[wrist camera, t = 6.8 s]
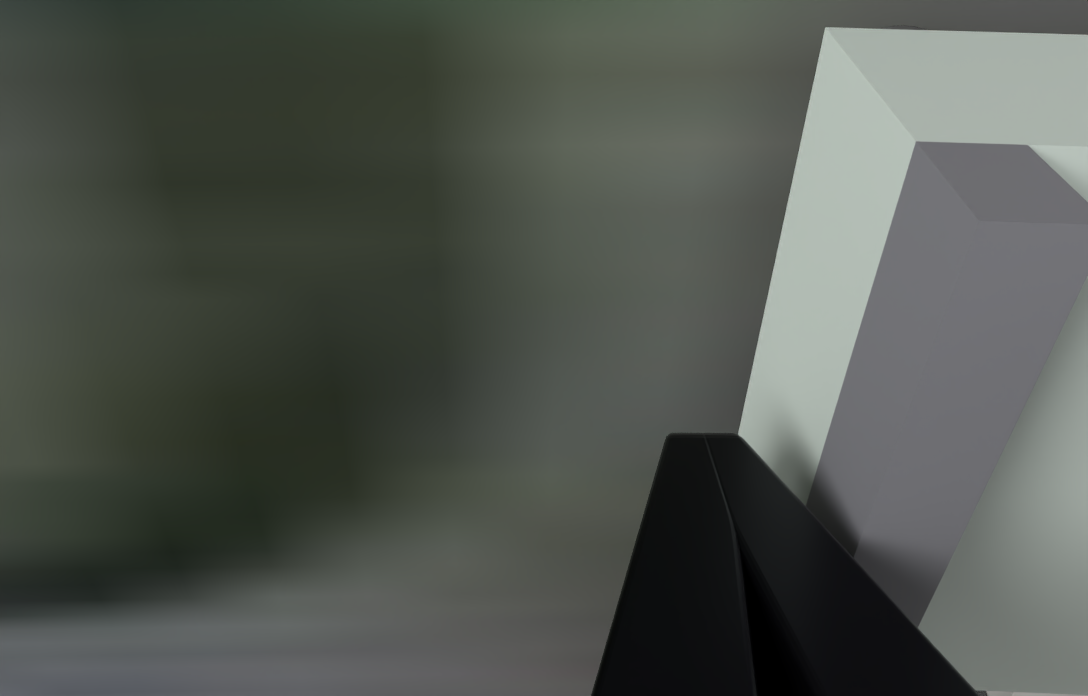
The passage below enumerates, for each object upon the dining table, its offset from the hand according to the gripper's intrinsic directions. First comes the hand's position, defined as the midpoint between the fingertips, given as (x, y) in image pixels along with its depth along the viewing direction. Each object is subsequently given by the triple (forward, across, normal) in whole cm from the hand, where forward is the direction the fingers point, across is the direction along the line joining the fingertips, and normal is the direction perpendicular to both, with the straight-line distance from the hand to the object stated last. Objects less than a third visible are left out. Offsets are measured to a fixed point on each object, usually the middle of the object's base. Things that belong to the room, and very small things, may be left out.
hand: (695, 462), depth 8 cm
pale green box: (+4, -6, 0) cm, 7 cm away
